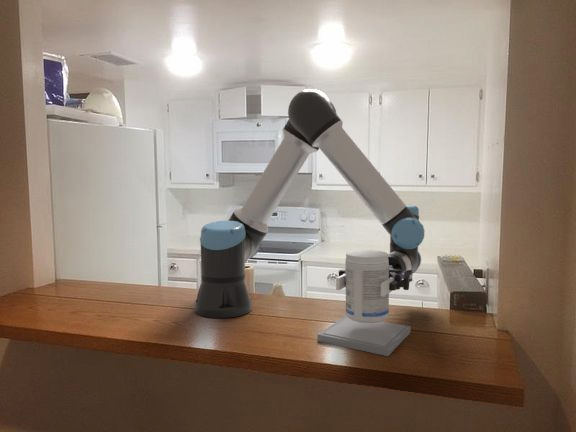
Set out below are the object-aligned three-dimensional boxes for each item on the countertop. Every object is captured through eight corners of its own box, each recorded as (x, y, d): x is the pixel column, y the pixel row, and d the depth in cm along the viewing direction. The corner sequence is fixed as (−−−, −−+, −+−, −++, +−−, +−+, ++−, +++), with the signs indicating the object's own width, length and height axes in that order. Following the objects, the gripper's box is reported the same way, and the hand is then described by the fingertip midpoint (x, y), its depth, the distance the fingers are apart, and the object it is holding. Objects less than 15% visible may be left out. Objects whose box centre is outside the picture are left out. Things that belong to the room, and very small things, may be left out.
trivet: (317, 340, 99) (317, 333, 99) (346, 320, 113) (346, 314, 113) (387, 356, 91) (388, 348, 91) (410, 332, 105) (410, 325, 105)
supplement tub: (393, 315, 103) (394, 251, 102) (381, 327, 95) (382, 258, 94) (353, 309, 108) (354, 248, 107) (338, 320, 100) (339, 254, 98)
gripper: (436, 288, 111) (410, 311, 92) (352, 277, 122) (313, 296, 103) (436, 258, 110) (411, 275, 91) (352, 250, 122) (313, 264, 102)
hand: (359, 286), depth 97 cm, fingers closed on supplement tub, 9 cm apart
